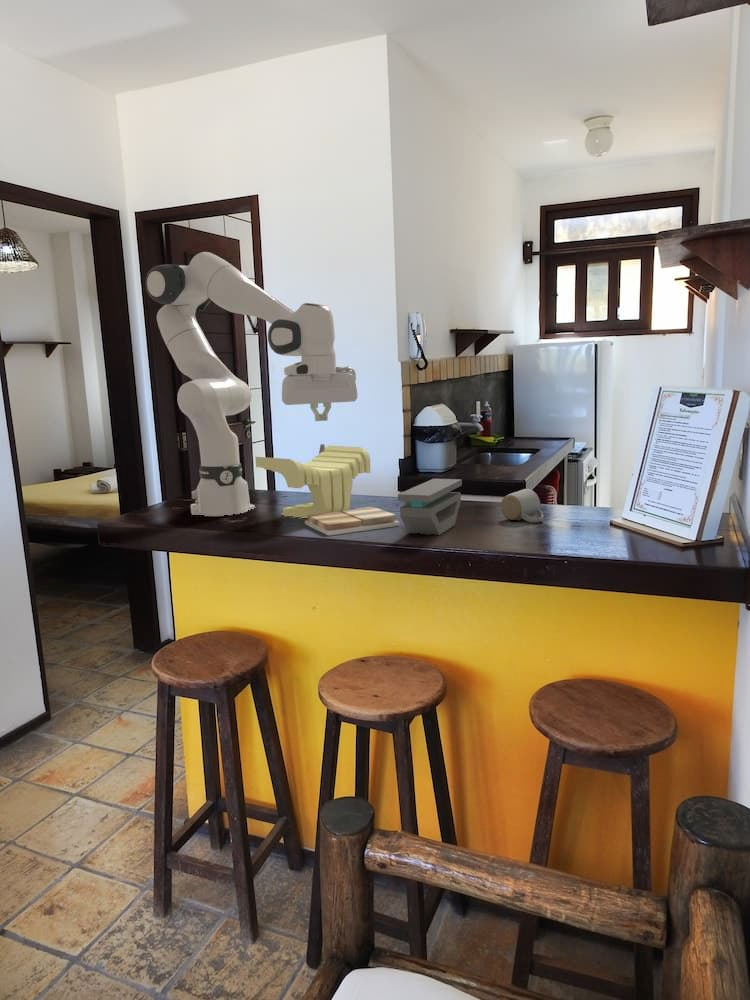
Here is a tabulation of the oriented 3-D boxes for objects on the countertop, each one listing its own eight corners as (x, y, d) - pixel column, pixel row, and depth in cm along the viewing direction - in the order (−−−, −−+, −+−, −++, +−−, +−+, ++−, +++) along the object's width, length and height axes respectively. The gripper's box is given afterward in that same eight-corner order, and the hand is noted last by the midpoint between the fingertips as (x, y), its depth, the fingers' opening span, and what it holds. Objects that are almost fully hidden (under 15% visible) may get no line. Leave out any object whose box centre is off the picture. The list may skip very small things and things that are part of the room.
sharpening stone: (430, 541, 166) (429, 495, 164) (399, 539, 169) (397, 494, 167) (462, 520, 188) (461, 479, 186) (434, 518, 191) (433, 478, 189)
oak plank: (307, 521, 188) (307, 515, 188) (339, 517, 192) (338, 511, 192) (328, 530, 176) (328, 524, 175) (361, 526, 180) (361, 520, 179)
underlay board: (305, 524, 189) (304, 520, 189) (372, 515, 198) (372, 511, 197) (328, 535, 175) (328, 531, 175) (399, 525, 183) (399, 521, 183)
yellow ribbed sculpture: (301, 527, 186) (298, 459, 182) (259, 521, 195) (255, 456, 192) (371, 507, 209) (369, 447, 206) (330, 503, 219) (328, 445, 215)
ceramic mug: (498, 519, 187) (498, 491, 185) (518, 514, 192) (518, 487, 191) (530, 526, 179) (531, 496, 177) (550, 521, 184) (551, 492, 183)
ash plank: (342, 516, 192) (342, 511, 192) (372, 511, 196) (371, 506, 196) (364, 525, 180) (364, 519, 180) (396, 520, 184) (395, 514, 184)
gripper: (350, 366, 191) (352, 418, 194) (278, 368, 183) (281, 422, 185) (360, 366, 186) (362, 419, 188) (286, 368, 177) (289, 423, 179)
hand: (321, 420), depth 187 cm, fingers closed
